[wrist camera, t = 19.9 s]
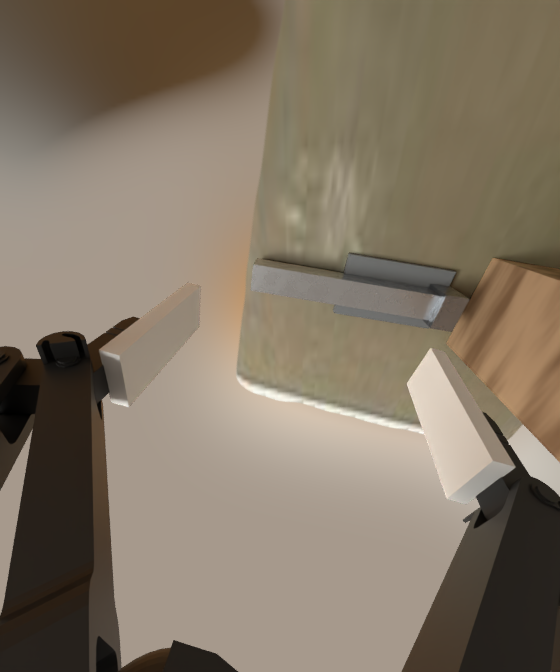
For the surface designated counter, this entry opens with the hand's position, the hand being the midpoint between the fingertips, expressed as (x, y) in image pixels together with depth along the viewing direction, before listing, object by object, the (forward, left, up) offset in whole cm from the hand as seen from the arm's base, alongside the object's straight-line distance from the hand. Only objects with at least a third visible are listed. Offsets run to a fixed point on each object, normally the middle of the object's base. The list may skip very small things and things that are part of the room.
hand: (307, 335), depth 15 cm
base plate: (-4, +14, -26) cm, 29 cm away
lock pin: (0, +9, -24) cm, 26 cm away
